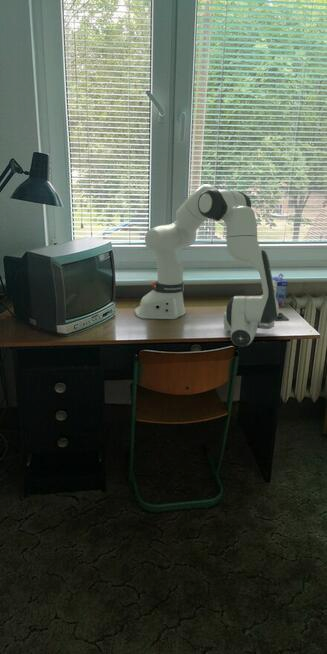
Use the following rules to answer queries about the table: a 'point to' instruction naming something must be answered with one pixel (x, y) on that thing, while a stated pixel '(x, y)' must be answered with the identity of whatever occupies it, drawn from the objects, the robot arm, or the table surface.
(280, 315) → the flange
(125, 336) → the table surface
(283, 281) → the ink cartridge box
